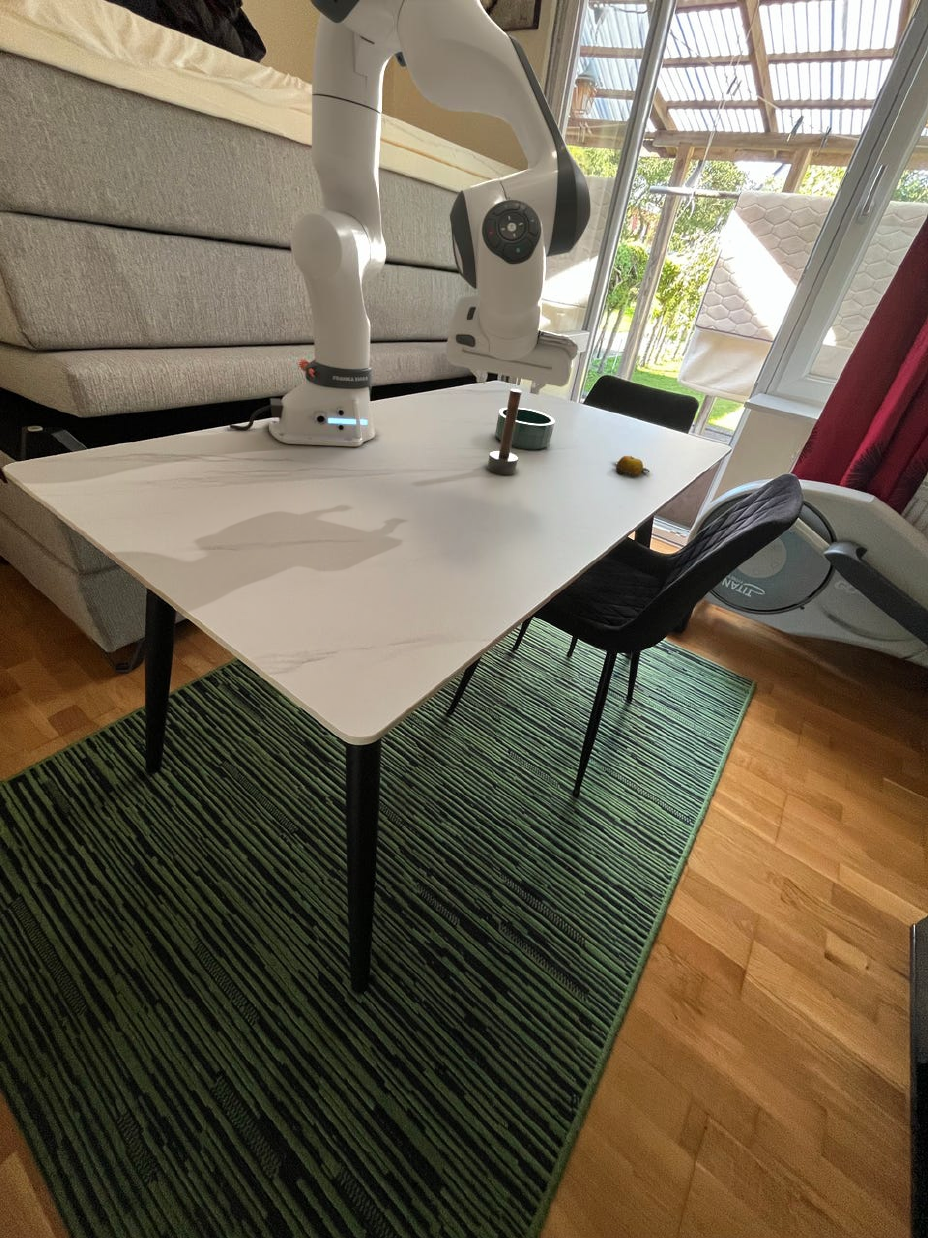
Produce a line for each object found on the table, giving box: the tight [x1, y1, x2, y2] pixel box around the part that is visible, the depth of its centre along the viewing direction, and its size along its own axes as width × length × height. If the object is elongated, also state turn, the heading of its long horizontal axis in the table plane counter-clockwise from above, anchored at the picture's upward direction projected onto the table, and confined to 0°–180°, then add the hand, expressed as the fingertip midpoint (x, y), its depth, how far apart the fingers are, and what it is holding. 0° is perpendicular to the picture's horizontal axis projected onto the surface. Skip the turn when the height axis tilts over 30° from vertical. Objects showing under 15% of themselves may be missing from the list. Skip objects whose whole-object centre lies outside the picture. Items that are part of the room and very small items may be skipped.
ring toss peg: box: [487, 388, 522, 476], centre depth 105 cm, size 6×6×16 cm
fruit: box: [614, 455, 651, 477], centre depth 119 cm, size 8×8×4 cm
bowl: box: [494, 407, 555, 451], centre depth 127 cm, size 14×14×6 cm
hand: (508, 384), depth 89 cm, fingers open, 8 cm apart
